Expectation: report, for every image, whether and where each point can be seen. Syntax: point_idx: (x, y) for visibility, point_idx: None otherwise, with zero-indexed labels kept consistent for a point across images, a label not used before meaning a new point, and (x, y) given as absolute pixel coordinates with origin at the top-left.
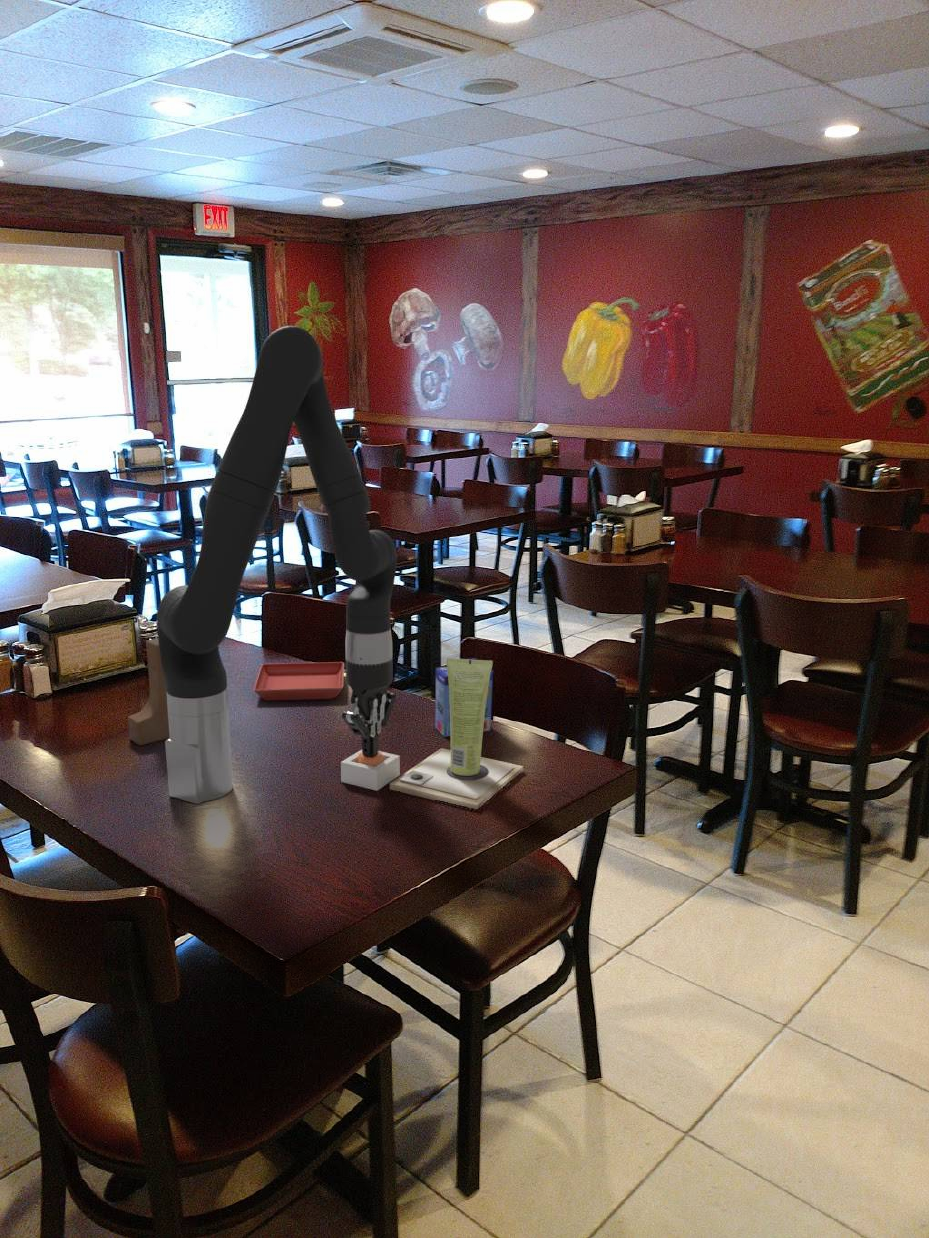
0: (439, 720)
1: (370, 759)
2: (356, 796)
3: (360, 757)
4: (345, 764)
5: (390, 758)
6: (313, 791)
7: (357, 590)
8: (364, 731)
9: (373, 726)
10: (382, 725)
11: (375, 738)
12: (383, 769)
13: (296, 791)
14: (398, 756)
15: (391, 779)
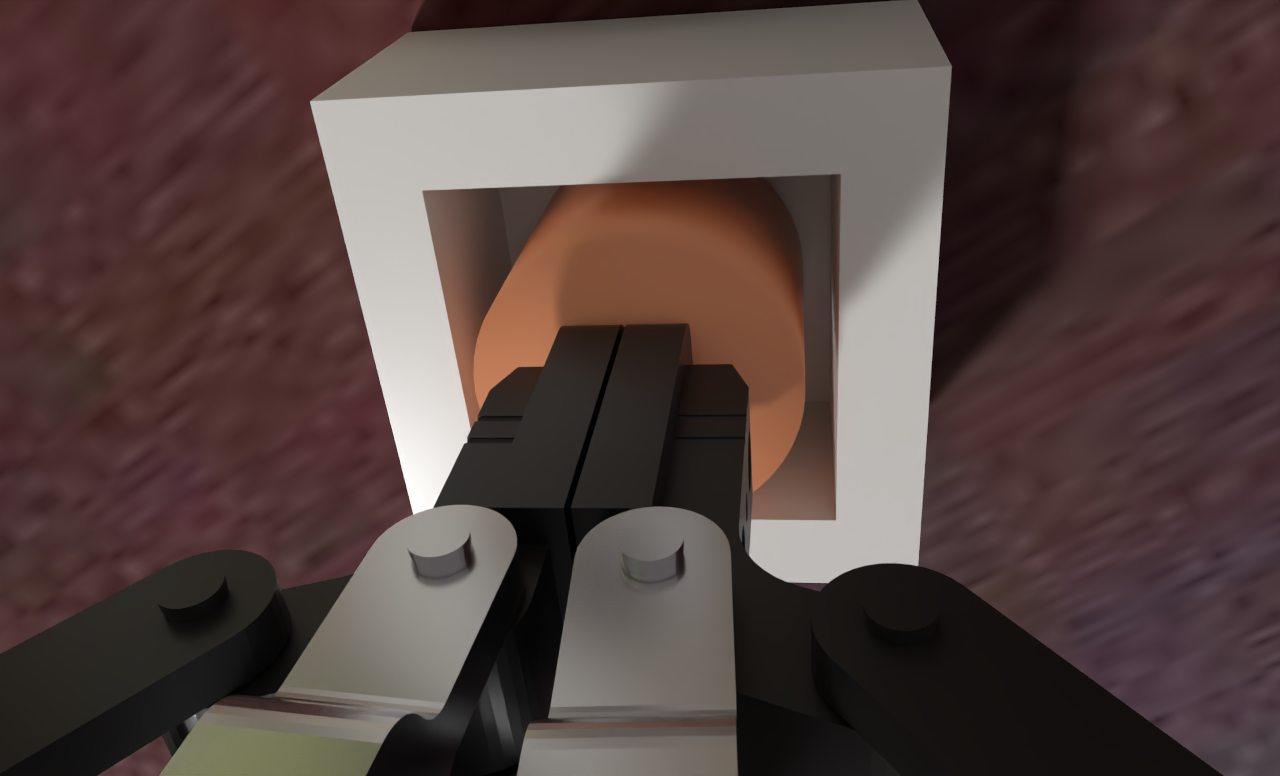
0: None
1: (748, 321)
2: (1161, 116)
3: (766, 457)
4: (916, 521)
5: (467, 156)
6: (1207, 529)
7: None
8: (1033, 696)
9: (625, 676)
10: (280, 594)
11: (590, 477)
12: (757, 62)
13: (1262, 635)
14: (341, 98)
15: (584, 24)
